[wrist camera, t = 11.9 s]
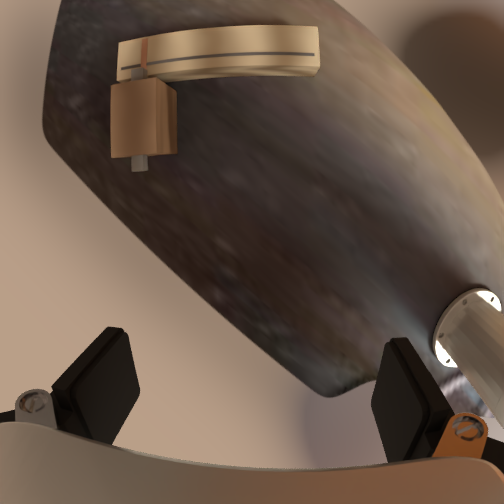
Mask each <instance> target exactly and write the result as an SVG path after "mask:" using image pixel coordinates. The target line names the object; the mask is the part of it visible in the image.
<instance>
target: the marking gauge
mask: <svg viewBox="0 0 504 504" xmlns="http://www.w3.org/2000/svg"><path fill="white" fill-rule="evenodd" d="M167 154H178V153H177V91H175V90H174V89H172V88H171V87H170V86H168V85H167V84H165V83H164V82H162V81H161V80H160V79H158V78H157V77H154V78H148V79H147V70H146V69H145V68H143V67H142V68H137V69H131V81H130V82H125V83H119V84H114V85H111V158H123V157H131V166H132V172H138V171H147V170H148V156H155V155H167Z"/></svg>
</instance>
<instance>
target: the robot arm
mask: <svg viewBox="0 0 504 504" xmlns="http://www.w3.org/2000/svg"><path fill="white" fill-rule="evenodd" d="M433 350H434V354H435V355H436V357H437V359H438V360H439V361H440V362H441V363H442V364H443V365H445V366H449V367H458V368H459V369H460V370H461V372H462V373H463V374H464V376H465V377H466V378H467V380H468V381H469V382H470V384H471V385H472V386H473V388H474V389H475V390H476V392H477V393H478V394H479V396H480V397H481V398H482V400H483V401H484V403H485V404H486V405H487V407H488V408H489V410H490V411H491V412H492V414H493V415H494V417H495V418H496V420H497V421H498V423H499V424H500V425H501V427H503V429H504V315H503V314H502V310H501V304H500V301H499V299H498V298H497V296H496V295H495V294H494V293H492V292H491V291H489V290H488V289H484V288H475V289H472V290H469V291H467V292H465V293H463V294H461V295H460V296H459V297H457V298H456V299H455V300H454V301H453V302H452V303H451V304H450V305H449V306H448V307H447V309H446V310H445V311H444V312H443V314H442V316H441V317H440V319H439V321H438V323H437V325H436V328H435V331H434V335H433ZM51 387H52V389H53V391H52V392H51V393H50V394H49V393H48V392H47V391H45V390H42V389H33V390H29V391H26V392H24V393H23V394H21V395H20V396H19V397H18V399H17V400H16V403H15V410H11V411H8V412H3V413H0V504H504V443H503V442H501V441H498V440H495V439H492V438H489V437H487V436H488V427H487V424H486V423H485V421H484V420H483V419H481V418H480V417H479V416H477V415H475V414H471V413H459V414H456V415H455V414H454V412H453V410H452V408H451V407H450V405H449V403H448V402H447V400H446V398H445V396H444V395H443V393H442V391H441V390H440V388H439V386H438V385H437V383H436V382H435V380H434V378H433V377H432V375H431V373H430V372H429V371H428V370H427V368H426V366H425V365H424V363H423V362H422V360H421V358H420V357H419V355H418V354H417V352H416V351H415V349H414V347H413V346H412V344H411V343H410V341H409V340H408V338H406V337H403V338H392V339H391V340H390V342H387V343H386V344H385V347H384V351H383V356H382V360H381V364H380V368H379V372H378V376H377V380H376V384H375V388H374V392H373V395H372V399H371V407H372V411H373V414H374V417H375V421H376V424H377V427H378V430H379V433H380V437H381V440H382V444H383V447H384V451H385V454H386V457H387V461H388V463H383V464H374V465H363V466H351V467H337V468H316V469H273V468H251V467H237V466H226V465H216V464H208V463H200V462H193V461H186V460H180V459H173V458H167V457H162V456H157V455H152V454H147V453H142V452H138V451H133V450H129V449H125V448H121V447H117V446H113V445H112V443H113V442H114V440H115V438H116V436H117V434H118V433H119V431H120V429H121V427H122V425H123V424H124V422H125V420H126V418H127V417H128V415H129V413H130V411H131V410H132V408H133V406H134V404H135V402H136V401H137V399H138V397H139V394H140V387H139V383H138V378H137V374H136V370H135V365H134V361H133V357H132V351H131V347H130V342H129V337H128V334H127V333H126V332H124V330H123V329H122V328H116V327H107V328H106V329H105V330H104V331H103V332H102V333H101V334H100V335H99V336H98V337H97V338H96V339H95V340H94V341H93V342H92V343H91V344H90V345H89V346H88V348H87V349H86V350H85V351H84V352H83V353H82V354H81V355H80V356H79V357H78V358H77V359H76V360H75V361H74V363H72V364H71V365H70V367H69V368H68V369H67V370H66V371H65V372H64V373H63V374H62V375H61V376H60V377H59V379H58V380H57V381H56V382H55V383H54V384H53V385H52V386H51Z"/></svg>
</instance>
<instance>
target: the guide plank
mask: <svg viewBox="0 0 504 504" xmlns="http://www.w3.org/2000/svg"><path fill="white" fill-rule="evenodd" d="M142 67H143V68H145V69H146V70H147V79H148V78H154V77H157V78H158V79H160V80H161V81H162V82H164V83H166V82H174V81H183V80H193V79H204V78H217V77H235V76H310V77H314V76H315V74H316V73H317V71H318V69H319V68H320V54H319V39H318V27H313V26H293V25H248V26H228V27H214V28H204V29H194V30H186V31H179V32H172V33H165V34H159V35H154V36H148V37H143V38H138V39H133V40H129V41H124V42H120V43H119V48H118V64H117V81H118V82H120V83H125V82H130V81H131V69H137V68H142Z"/></svg>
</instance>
